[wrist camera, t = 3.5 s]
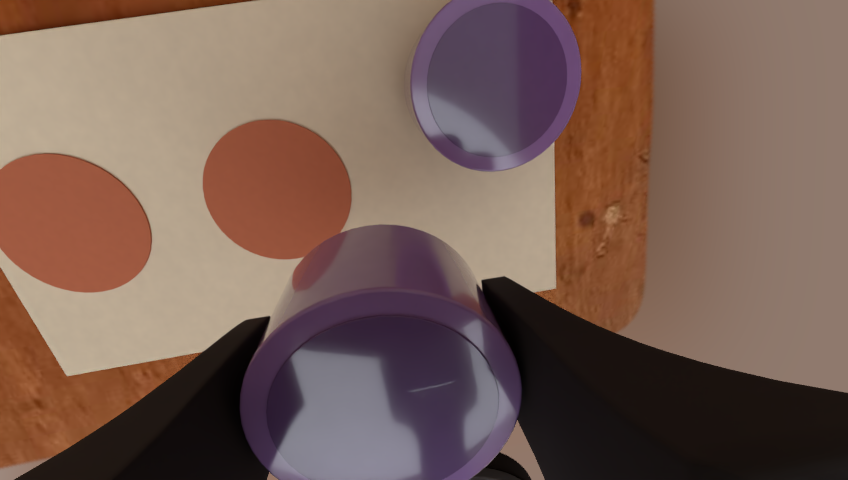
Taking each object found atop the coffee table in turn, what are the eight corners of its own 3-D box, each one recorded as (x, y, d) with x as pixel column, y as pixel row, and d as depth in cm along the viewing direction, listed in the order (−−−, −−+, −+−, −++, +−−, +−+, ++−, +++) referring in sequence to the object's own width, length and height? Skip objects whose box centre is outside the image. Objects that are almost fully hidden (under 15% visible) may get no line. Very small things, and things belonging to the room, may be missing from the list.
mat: (72, 371, 19) (65, 378, 18) (-117, 54, 14) (-135, 52, 13) (553, 284, 20) (557, 289, 20) (548, -38, 15) (553, -42, 14)
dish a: (403, 406, 13) (414, 541, 9) (249, 328, 11) (183, 453, 7) (513, 283, 11) (579, 379, 8) (358, 175, 10) (345, 230, 6)
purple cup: (477, 178, 17) (505, 203, 13) (376, 99, 16) (375, 103, 12) (561, 71, 16) (617, 67, 12) (460, -26, 14) (488, -66, 11)
